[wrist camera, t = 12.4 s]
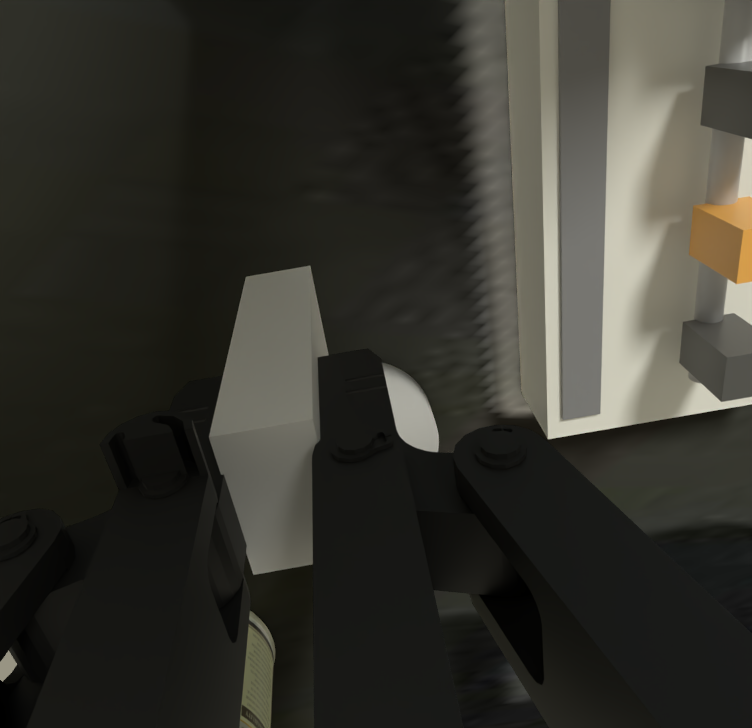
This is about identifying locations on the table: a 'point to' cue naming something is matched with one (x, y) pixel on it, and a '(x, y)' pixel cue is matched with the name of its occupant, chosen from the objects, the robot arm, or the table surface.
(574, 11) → the breaker panel
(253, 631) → the coffee can
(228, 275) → the table surface
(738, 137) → the breaker paddles
